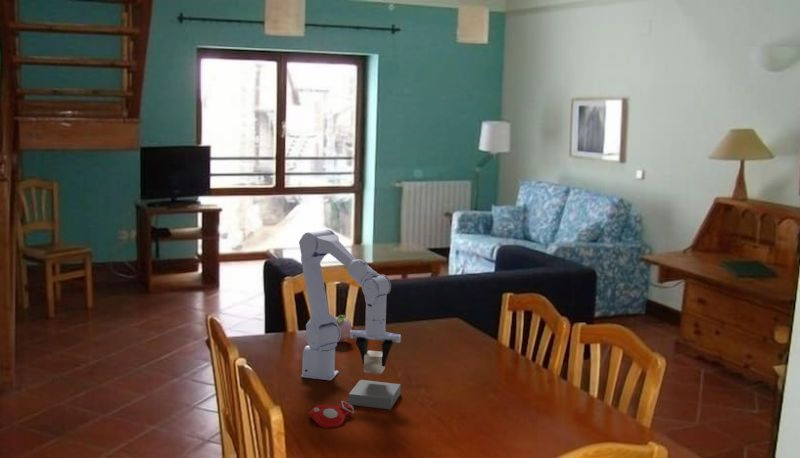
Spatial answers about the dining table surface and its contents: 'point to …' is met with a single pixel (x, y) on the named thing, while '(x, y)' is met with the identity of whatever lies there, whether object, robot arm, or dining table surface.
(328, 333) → the robot arm
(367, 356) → the cream cube
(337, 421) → the tracker holder
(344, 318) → the decorative fruit
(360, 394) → the gray base
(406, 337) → the dining table surface
